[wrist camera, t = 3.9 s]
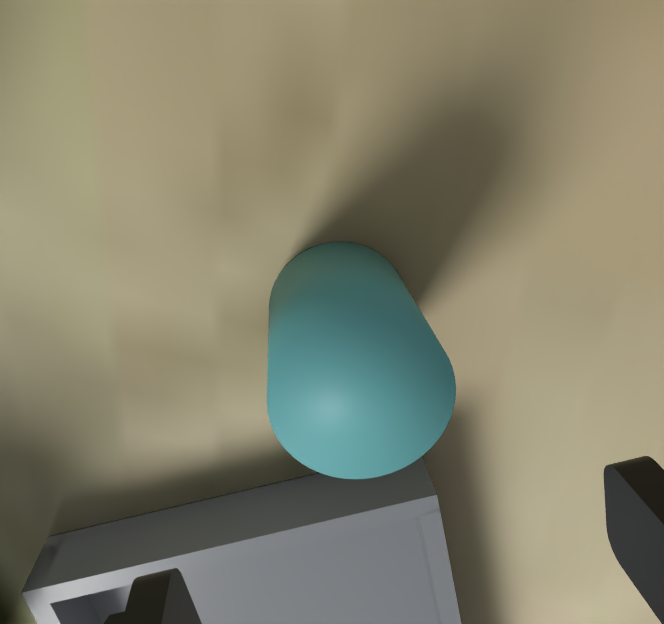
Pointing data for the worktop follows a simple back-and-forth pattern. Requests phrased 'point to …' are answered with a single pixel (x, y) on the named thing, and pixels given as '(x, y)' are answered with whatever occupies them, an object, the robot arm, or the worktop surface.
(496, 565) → the worktop surface
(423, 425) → the teal capsule
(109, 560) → the tray
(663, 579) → the robot arm
